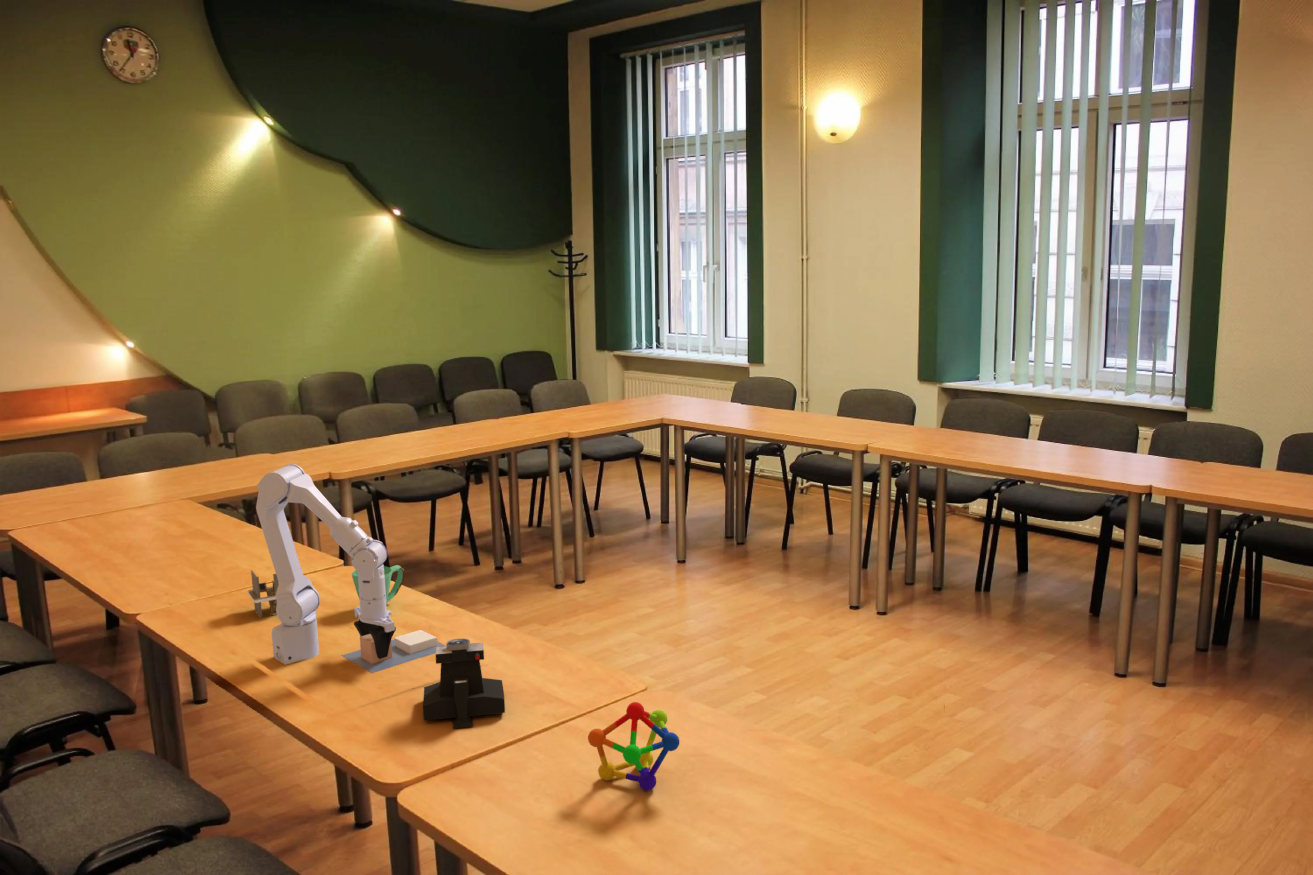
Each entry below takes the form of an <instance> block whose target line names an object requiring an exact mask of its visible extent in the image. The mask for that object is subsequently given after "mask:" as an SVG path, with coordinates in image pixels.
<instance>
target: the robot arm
mask: <svg viewBox="0 0 1313 875" xmlns="http://www.w3.org/2000/svg"><path fill="white" fill-rule="evenodd" d="M256 487H257V490H258V495H257V500H256V504H255V509H256V514H257V517H258V520H259V523H260V525H261V529H262V533H263V536H264V539H265V543H266V545H267V546H266V547H267V549H268V552H269V555H270V558H271V562H272V565H273V570H274V572H275V574H276V575H277V578H278V582H279V586H278V589H277V592H276V595H275V597H276V600H277V607H276V613H277V615H276V616H277V619H279V620H280V621H279V622H281V623H280V624H279V625H276V626H274V627H273V628H272V631H271V638H272V639H271V642H272V653H273V659H275V660H277V661H278V662H279V663H281V664H283V665H285V666H286V665H289V664H294V663H296V662H297V663H298V662H300V661H306V660H310V659H314V658H315V657H317V656H319V654H320V646H319V634H318V633H319V632H318V621H317V609H319V607H320V604H321V595H320V593H319V592H318V591H317V589H316V588H315V586H313V583H312V580H311V579H310V578H308V577H307V576H305V575H304V573H303V569H302V565H301V563H300V560H299V557H298V554H297V550H296V546H295V544H294V540H293V536H292V534H291V530H290V527H289V523H288V520H287V517H286V514H285V510H284V509H285V508H286V507H287V505H288V504H289V503H293V504H303V505H304V506H305V507H306V508H307V509H309V510H310V511H311V512H312V513H313V514H314V515H315V516H316V517H318V518H319V519H320V520H321V521H322V522H323V523H324V524H325V525H326V526H327V527H328V528H329V536H330V537H331V539H333V540H334V541H335V542H336V543H337V545H339V546H340V547H341V549H343V551H345V552H346V553H347V554H348V555H349V556H350V557H351V558H352V559H351V565H352V567H353V568H354V569H355V570H356V571H357V573H358V585H359V597H358V599H359V606H357V607H354V608H353V609H354V617H355V618H358V620H356V621H354V622H353V626H354V627H355V629H356V630H357V632H358V635H359V637H360V636H364V635H367V634H371V636H372V638H373V640H374V643H375V648H376V654H377V657H378V658H379V659H381V658H384V657H387V656H388V651H389V646H390V642H391V641H392V640H393V636H394V634H395V633H396V631H397V630H396V629H397V627H396V626H395V621H393V620H392V619H391V617H390V616H391V615H392V614H393V613H392V611H391V610H389V609H387V603H386V590H385V575H384V566H385V565H384V563H385V561H386V560H387V558H388V551H387V548H386V546H385V545H384V543H383V542H382V541H380V540H377V539H374V538H372V537H371V536H369V535H368V534H367V533H366V532H365V531H364V530H363V529H362V528H361V527H360V526H359V522H358V521H357V519H354V520H353V519H352V518H351V517H347V516H346V517H344V516H342V515H341V514H340V513H339V512H338V511H337V510H336V509H335V507H334V506H333V505H332V504H331V502H330V501H329V500H328V499H327V498H326V497H325V496H324V495H323V493H322V492H321V491H320V490H319V489H318V488H317V487H316V485H315V484H314V481H313V479H312V477H311V476H310V475H309V474H308V473H306V472H305V470H304V469H303V468H302V467H301V466H299V465H298V464H296V463H288V464H285V465H284V466H283V467H281V468H278V469H276V470H275V471H274V470H273V471H272V472H271V471H270V472H267V473H265V474H264V475H263V476H262V478H261V479H260V480H259V482H258V483H257V484H256Z"/></svg>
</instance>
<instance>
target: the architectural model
mask: <svg viewBox="0 0 1313 875" xmlns="http://www.w3.org/2000/svg"><path fill="white" fill-rule="evenodd" d="M250 574H251V585H252V589H249V590H247V594H248V596H249V598H250V599H251V600H252V601H253V603H254V605H253V606H254V611H255V613H256V612H257V613H256V614H257V616H258V615H259V616H258V617H259V618H260V619H262V618H263V610H262V603H263V602H268V605H269V608H270V613H272V614H270V613H269V615H270V616H271V615H273V616H277V613H276V607H277V600H276V597H275V595H276V592H277V589H278V586H279V582H278V578H277V575H276V573H273V574H272V576H273V580H272V585H271V586H267V581H264V582H261V583H260V579H259V578H260V577H259V576H257V575H256V573H255V572H254V571H253V570H252V569H250ZM261 593H266V596H263V597H261Z"/></svg>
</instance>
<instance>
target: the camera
mask: <svg viewBox="0 0 1313 875" xmlns="http://www.w3.org/2000/svg"><path fill="white" fill-rule="evenodd" d="M445 645H446V646H437V647H436V653H435V664H438V665H439V664H440V675H439V678H440V679H439V681H438V682H435V683H432V684H430V685H426V686H423V699H422V702H423V703H422V711H423V712H422V713H423V715H422V716H423V721H425V722H426V721H434V720H444V719H453V718H455V719H453V721H452V729H460V728H461V729H462V728H469V727H474V724H473V721H474V720H473V718H472V717H475V716H484V715H485V716H486V715H494V714H504V713H506V705H505V703H506V702H505V691H504V684H503V680H502V679H496V678H494V679H493V678H487V677H483V673H482V667H481V666H482V665H481V660H483V661H484V660H485V648H484V643H483V642H475V643H471V640H470V639H468V638H453V639H450V640H447V641H446V643H445Z"/></svg>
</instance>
